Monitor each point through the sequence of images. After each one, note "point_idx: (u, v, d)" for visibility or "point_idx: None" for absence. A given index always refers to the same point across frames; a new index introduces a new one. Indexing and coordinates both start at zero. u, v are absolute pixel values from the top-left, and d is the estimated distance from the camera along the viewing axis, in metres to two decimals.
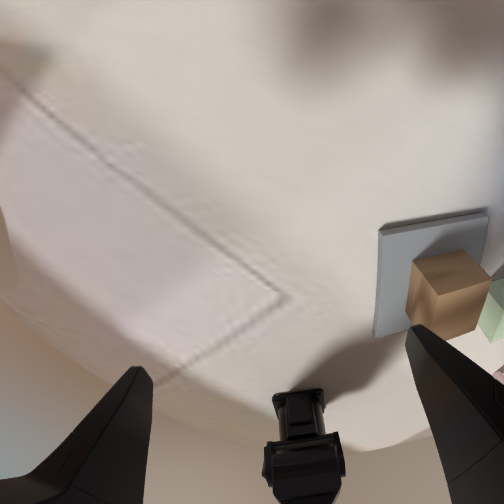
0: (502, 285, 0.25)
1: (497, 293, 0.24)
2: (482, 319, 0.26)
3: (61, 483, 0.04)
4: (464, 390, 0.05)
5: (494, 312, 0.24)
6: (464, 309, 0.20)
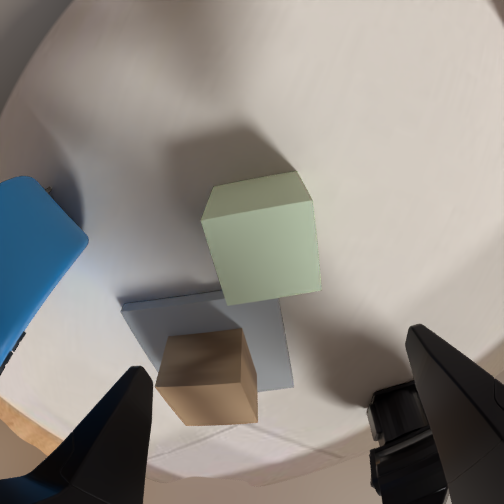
0: None
1: None
2: None
3: (61, 482, 0.04)
4: (464, 390, 0.05)
5: None
6: (200, 405, 0.19)
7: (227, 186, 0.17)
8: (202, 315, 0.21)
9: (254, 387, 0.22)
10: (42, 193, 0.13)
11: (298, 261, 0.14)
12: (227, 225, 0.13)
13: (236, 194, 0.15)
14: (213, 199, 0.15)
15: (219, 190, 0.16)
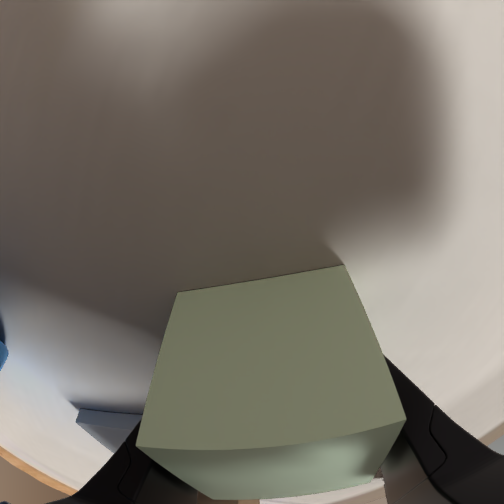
0: None
1: None
2: None
3: (122, 501, 0.04)
4: None
5: None
6: None
7: (203, 301, 0.08)
8: None
9: (256, 503, 0.14)
10: None
11: (343, 475, 0.06)
12: (196, 457, 0.05)
13: (218, 346, 0.07)
14: (169, 352, 0.07)
15: (186, 313, 0.08)
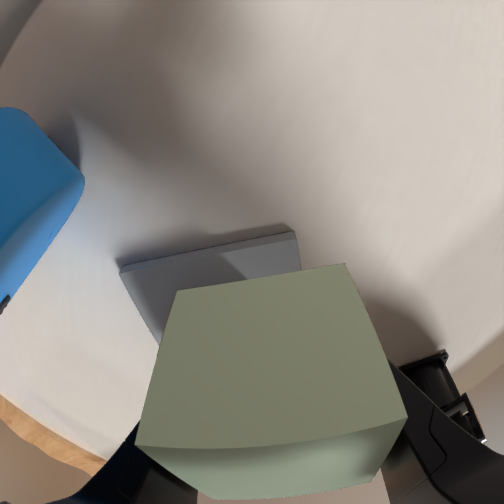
0: None
1: None
2: None
3: (122, 501, 0.04)
4: None
5: None
6: None
7: (202, 300, 0.08)
8: (212, 273, 0.19)
9: None
10: (37, 126, 0.11)
11: (344, 474, 0.06)
12: (196, 456, 0.05)
13: (217, 344, 0.07)
14: (169, 351, 0.07)
15: (185, 312, 0.08)
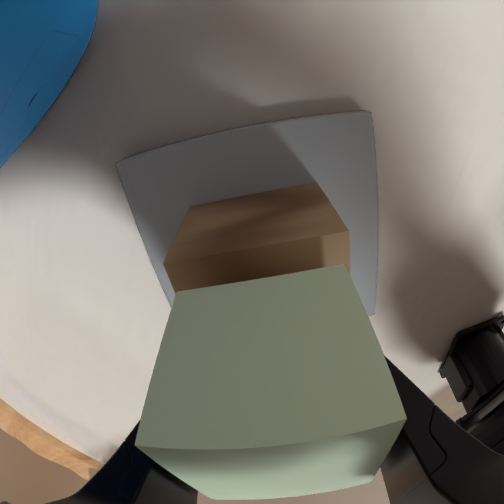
0: None
1: None
2: None
3: (122, 501, 0.04)
4: None
5: None
6: None
7: (202, 301, 0.08)
8: (254, 156, 0.13)
9: None
10: None
11: (343, 475, 0.06)
12: (196, 457, 0.05)
13: (217, 345, 0.07)
14: (169, 352, 0.07)
15: (185, 312, 0.08)
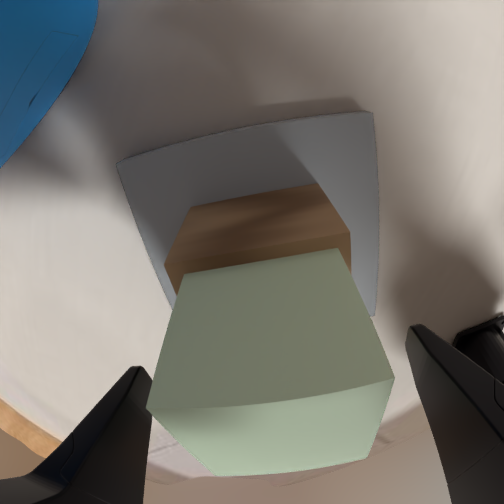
0: None
1: None
2: None
3: (61, 483, 0.04)
4: (464, 390, 0.05)
5: None
6: None
7: (207, 281, 0.09)
8: (255, 156, 0.13)
9: None
10: None
11: (339, 445, 0.06)
12: (202, 418, 0.05)
13: (222, 317, 0.07)
14: (177, 325, 0.07)
15: (192, 292, 0.09)
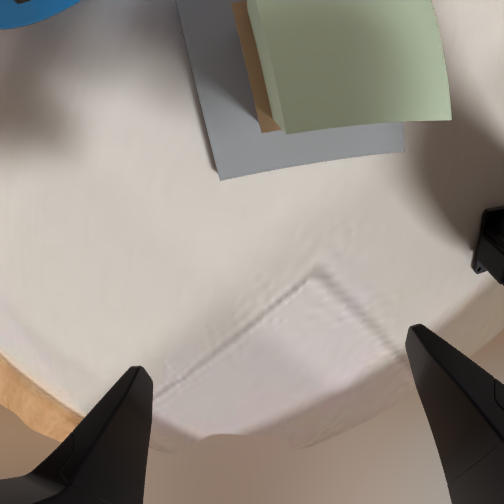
0: (260, 53, 0.09)
1: (271, 93, 0.09)
2: None
3: (61, 482, 0.04)
4: (464, 390, 0.05)
5: None
6: None
7: None
8: None
9: None
10: None
11: (416, 52, 0.06)
12: None
13: None
14: None
15: None
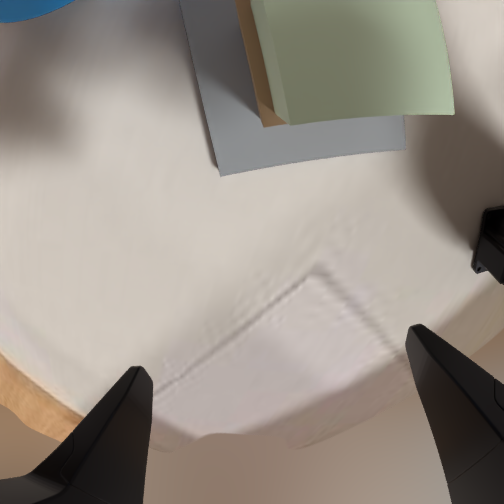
0: (263, 47, 0.09)
1: (273, 87, 0.09)
2: None
3: (61, 482, 0.04)
4: (464, 390, 0.05)
5: None
6: None
7: None
8: None
9: None
10: None
11: (419, 46, 0.05)
12: None
13: None
14: None
15: None
